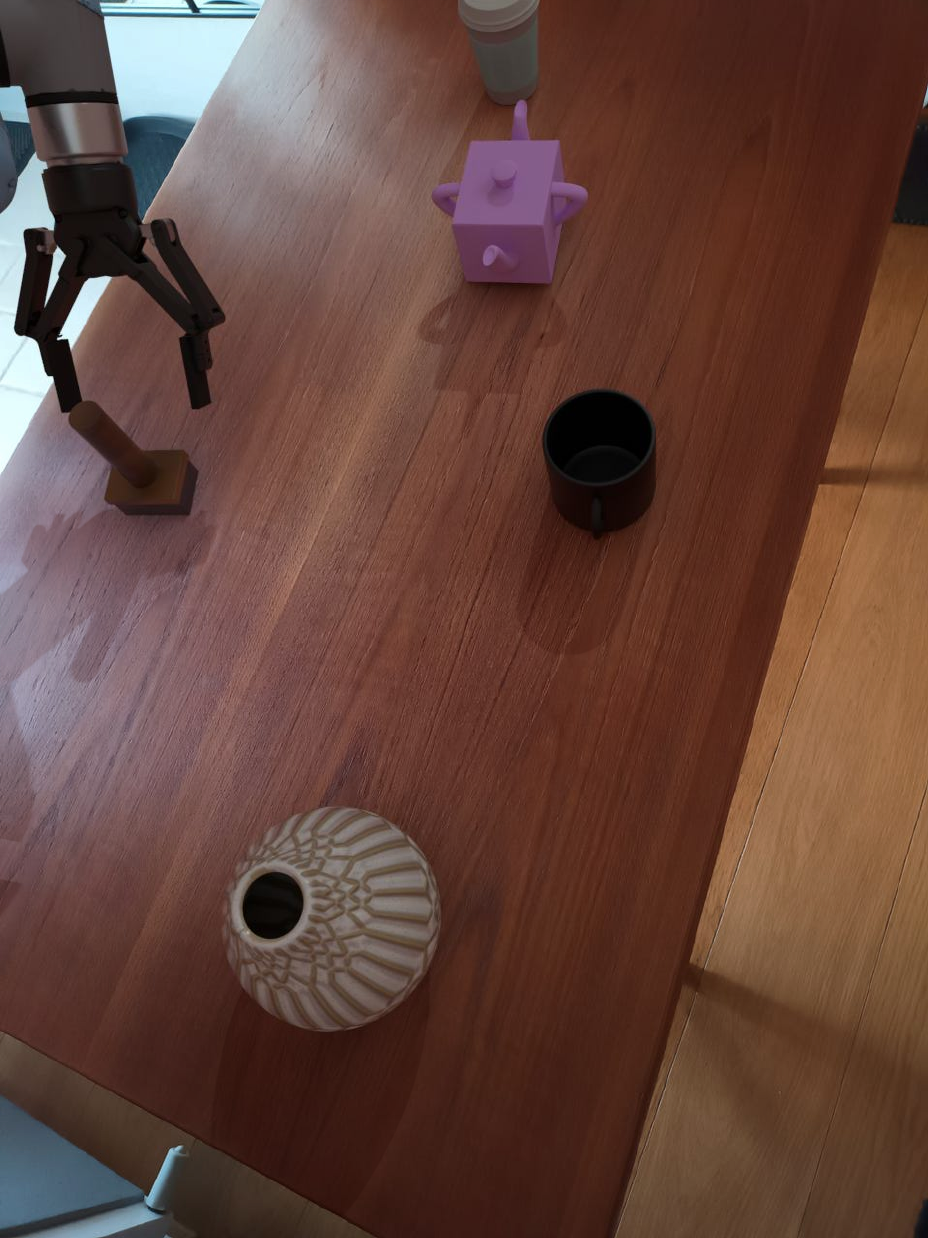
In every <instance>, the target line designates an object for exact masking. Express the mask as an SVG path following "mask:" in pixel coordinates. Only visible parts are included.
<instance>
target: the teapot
mask: <svg viewBox="0 0 928 1238" xmlns="http://www.w3.org/2000/svg"><path fill="white" fill-rule="evenodd" d="M527 117H528V105H527V101H526V100H520V101H519V102H518V103H517V104H515V106H514V111H513V117H512V119H513V120H512V129H511V135H510V140H471V141H470V142H469V143H470V144H469V148H468V153H467V157H466V161H465V164H464V167H463V173H462V178H461V180H460V181H455V182H454V181H453V182H447V183H442V184H439V185H437V186H435V187H434V188H433V190H432V191H431V200H432V202H433V203H434V205H435V206H436V207H437V208H438V209H440V210H441V211H442V212H443V213H445V214H447V215H448V216H450V217H451V218H452V222H451V230H452V232H453V237H454V240H455V244H456V248H457V251H458V256H459V259H460V263H461V267H462V272H463V273H464V274H463V275H464V278H465V281H466V282H477V283H479V282H481V283H513V284H514V283H515V284H518V283H519V284H549V285H551V284H552V280H553V276H554V271H555V265H556V260H557V255H558V249H559V243H560V238H561V233H562V227H563V223H565V222H567V221H568V220H570V219H571V218H572V217H574V216H576V215H577V214H579V212H581V211H582V210H583V208H584V207H585V205H586V204H587V201H588V199H589V193H588V191H587V189H586V188H585V187H583V186H581V185H579V184H574V183H569V182H565V178H564V170H563V169H564V168H563V167H564V166H563V159H562V151H561V150H562V149H561V142H560V139H553V140H551V139H550V140H531V137H530V134H529V128H528V118H527ZM453 197H457V199H456V201H455V200H454V199H453ZM567 199H568V201H567Z"/></svg>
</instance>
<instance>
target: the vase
mask: <svg viewBox="0 0 928 1238" xmlns="http://www.w3.org/2000/svg"><path fill="white" fill-rule="evenodd" d="M225 888H226V889H225V892H224V896H223V901H222V906H221V917H220V918H221V919H220V921H221V922H220V923H221V924H220V925H221V928H220V929H221V937H222V943H223V947H224V951H225V955H226V958H227V961H228V963H229V966H230V968H231V970H232V972H233V974H234V976H235V978H236V979H237V981H238V982H239V984H240V985H241V987H242V988H243V989H244V991H245V992H246V993H247V994H248V995H249V996H250V998H251V999H252V1000H253V1001H254V1002H255V1003H256V1004H257V1005H259V1006H260V1007H261V1008H262V1009H263V1010H265V1011H266V1012H268V1013H269V1014H270V1015H272V1016H273V1017H275V1018H277V1019H279V1020H280V1021H282V1022H284V1023H287V1024H289V1025H291V1026H294V1027H297V1028H300V1029H304V1030H308V1031H313V1032H321V1033H322V1032H323V1033H332V1032H344V1031H349V1030H355V1029H357V1028H361V1027H363V1026H366V1025H369V1024H371V1023H373V1022H375V1021H377V1020H379V1019H381V1018H383V1017H385V1016H386V1015H388V1014H389V1013H391V1012H392V1011H393V1010H395V1009H396V1008H398V1007H399V1006H400V1005H401V1004H403V1002H405V1001H406V1000H407V999H408V998H409V997H410V996H411V994H412V993H413V992H414V991H415V990H416V988H417V987H418V986H419V985H420V983H421V982H422V980H423V978H424V977H425V975H426V974H427V972H428V970H429V968H430V966H431V964H432V962H433V960H434V957H435V955H436V951H437V949H438V945H439V941H440V936H441V929H442V919H443V918H442V917H443V914H442V901H441V895H440V889H439V886H438V881H437V879H436V876H435V873H434V870H433V869H432V866H431V864H430V862H429V860H428V859H427V857H426V855H425V854H424V852H423V851H422V850H421V848H420V847H419V845H418V844H417V843H416V842H415V841H414V840H413V838H412V837H411V836H410V835H409V834H407V832H406V831H404V830H403V829H402V828H401V827H400V826H398V825H397V824H395V823H393V822H392V821H391V820H390V819H388V818H385V817H383V816H382V815H380V814H377V813H375V812H372V811H369V810H367V809H362V808H356V807H350V806H325V807H318V808H312V809H309V810H306V811H305V810H304V811H302V812H299V813H297V814H294V815H292V816H289V817H287V818H285V819H283V820H281V821H280V822H278V823H276V824H275V825H273V826H271V827H270V828H269V829H267V830H266V831H265V832H264V833H262V834H261V835H260V836H258V837H257V839H256V840H254V841H253V843H252V844H251V845H250V846H249V847H248V848H247V849H246V851H245V852H244V853H243V855H241V858H240V859H239V861H238V862H237V864H236V865H235V867H234V869H233V871H232V873H231V875H230V878H229V880H228V883H227V886H226V887H225Z"/></svg>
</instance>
